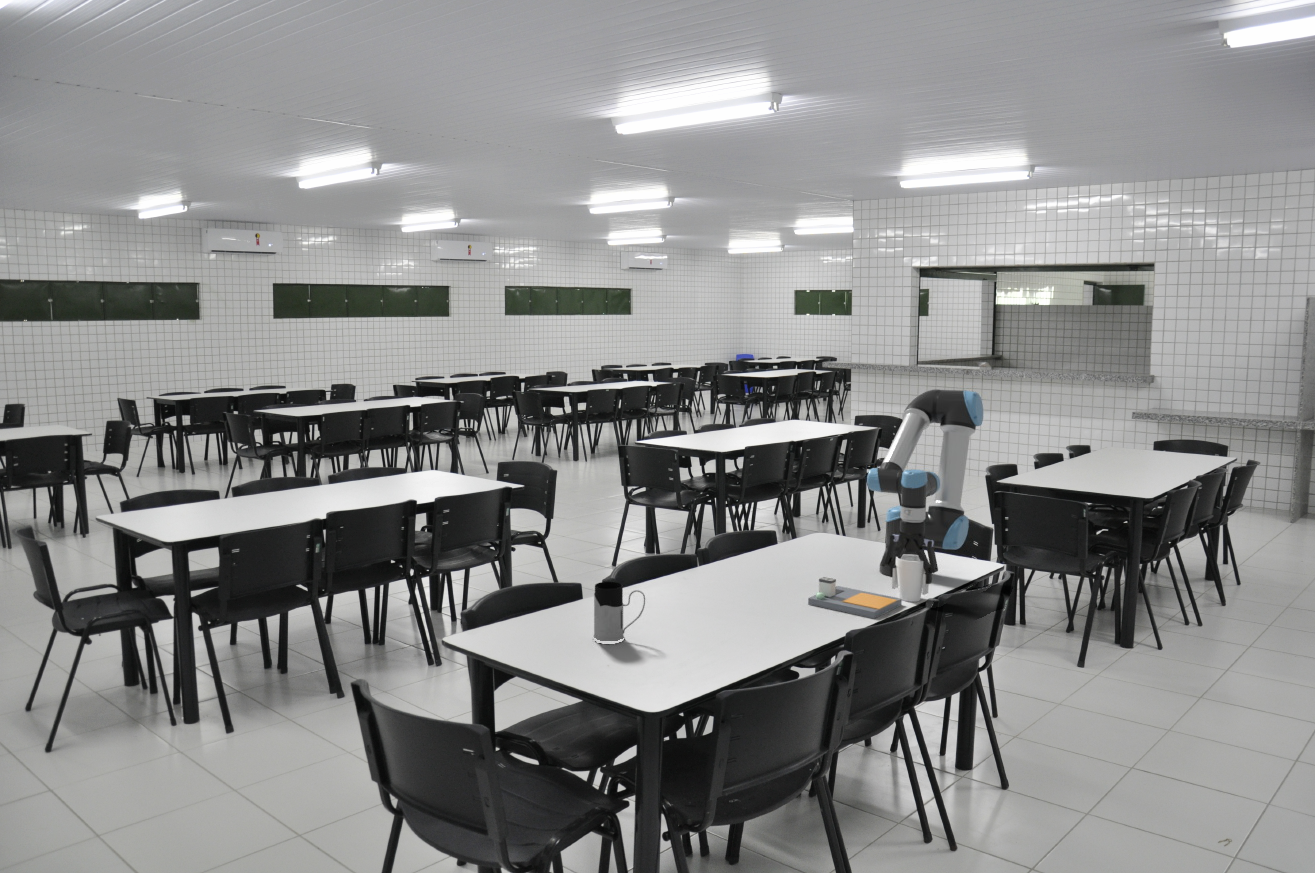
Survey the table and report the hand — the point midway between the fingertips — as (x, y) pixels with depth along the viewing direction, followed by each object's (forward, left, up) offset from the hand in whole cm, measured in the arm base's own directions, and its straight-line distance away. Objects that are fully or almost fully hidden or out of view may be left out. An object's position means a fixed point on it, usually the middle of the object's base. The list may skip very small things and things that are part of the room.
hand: (910, 590), depth 301 cm
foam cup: (0, 0, -3) cm, 3 cm away
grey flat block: (+17, -10, -3) cm, 20 cm away
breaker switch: (+20, -18, 0) cm, 27 cm away
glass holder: (+88, -43, -3) cm, 98 cm away
